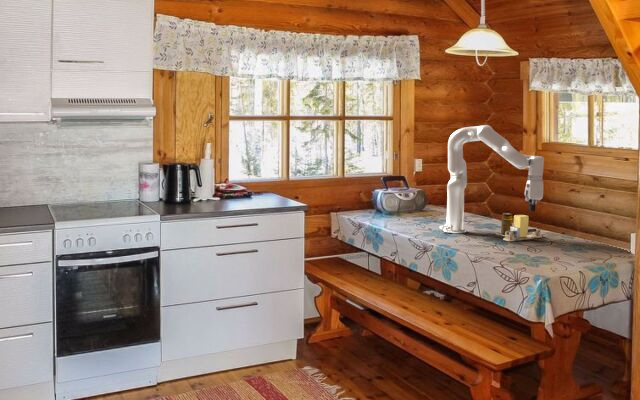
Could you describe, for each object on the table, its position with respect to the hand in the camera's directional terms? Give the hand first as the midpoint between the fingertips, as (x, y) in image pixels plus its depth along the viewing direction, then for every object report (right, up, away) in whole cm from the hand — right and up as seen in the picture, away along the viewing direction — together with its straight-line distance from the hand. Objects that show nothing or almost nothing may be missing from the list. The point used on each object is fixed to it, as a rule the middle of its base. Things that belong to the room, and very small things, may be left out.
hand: (531, 210), depth 387 cm
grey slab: (-11, -16, -4) cm, 19 cm away
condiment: (-12, -14, +10) cm, 21 cm away
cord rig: (-5, -15, -1) cm, 16 cm away
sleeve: (-7, -14, -2) cm, 16 cm away
